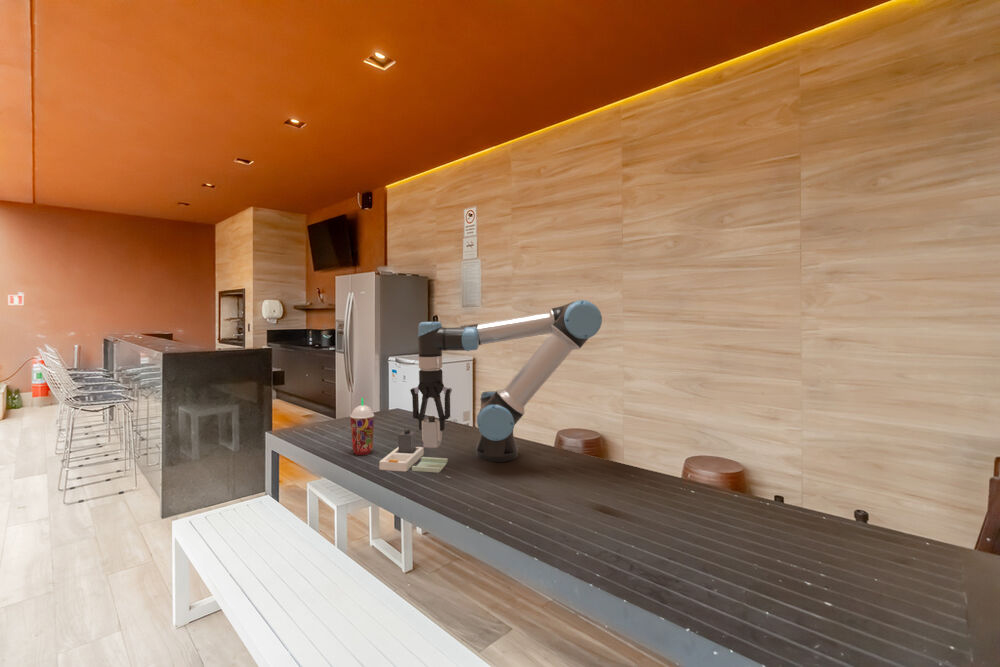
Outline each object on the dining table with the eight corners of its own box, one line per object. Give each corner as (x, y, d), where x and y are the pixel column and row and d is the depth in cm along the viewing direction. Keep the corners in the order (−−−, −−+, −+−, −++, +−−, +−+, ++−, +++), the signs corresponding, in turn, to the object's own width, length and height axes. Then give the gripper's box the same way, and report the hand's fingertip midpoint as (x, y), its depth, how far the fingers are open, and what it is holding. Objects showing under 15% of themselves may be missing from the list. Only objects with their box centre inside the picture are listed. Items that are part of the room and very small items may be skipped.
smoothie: (370, 456, 157) (370, 400, 156) (346, 456, 157) (346, 399, 156) (377, 449, 165) (377, 395, 164) (355, 449, 165) (354, 395, 164)
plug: (440, 443, 148) (440, 415, 148) (436, 447, 144) (436, 418, 143) (427, 443, 149) (427, 414, 148) (423, 447, 145) (422, 418, 144)
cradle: (447, 463, 151) (447, 458, 151) (439, 473, 141) (439, 468, 141) (422, 461, 152) (422, 456, 152) (411, 471, 143) (411, 466, 142)
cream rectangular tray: (423, 455, 159) (423, 426, 158) (406, 472, 142) (406, 439, 141) (399, 454, 160) (399, 425, 159) (379, 470, 143) (379, 438, 143)
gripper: (459, 367, 148) (461, 437, 149) (408, 367, 150) (410, 436, 151) (453, 370, 140) (455, 444, 141) (400, 370, 143) (402, 442, 144)
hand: (432, 439), depth 146 cm, fingers closed on plug, 4 cm apart
